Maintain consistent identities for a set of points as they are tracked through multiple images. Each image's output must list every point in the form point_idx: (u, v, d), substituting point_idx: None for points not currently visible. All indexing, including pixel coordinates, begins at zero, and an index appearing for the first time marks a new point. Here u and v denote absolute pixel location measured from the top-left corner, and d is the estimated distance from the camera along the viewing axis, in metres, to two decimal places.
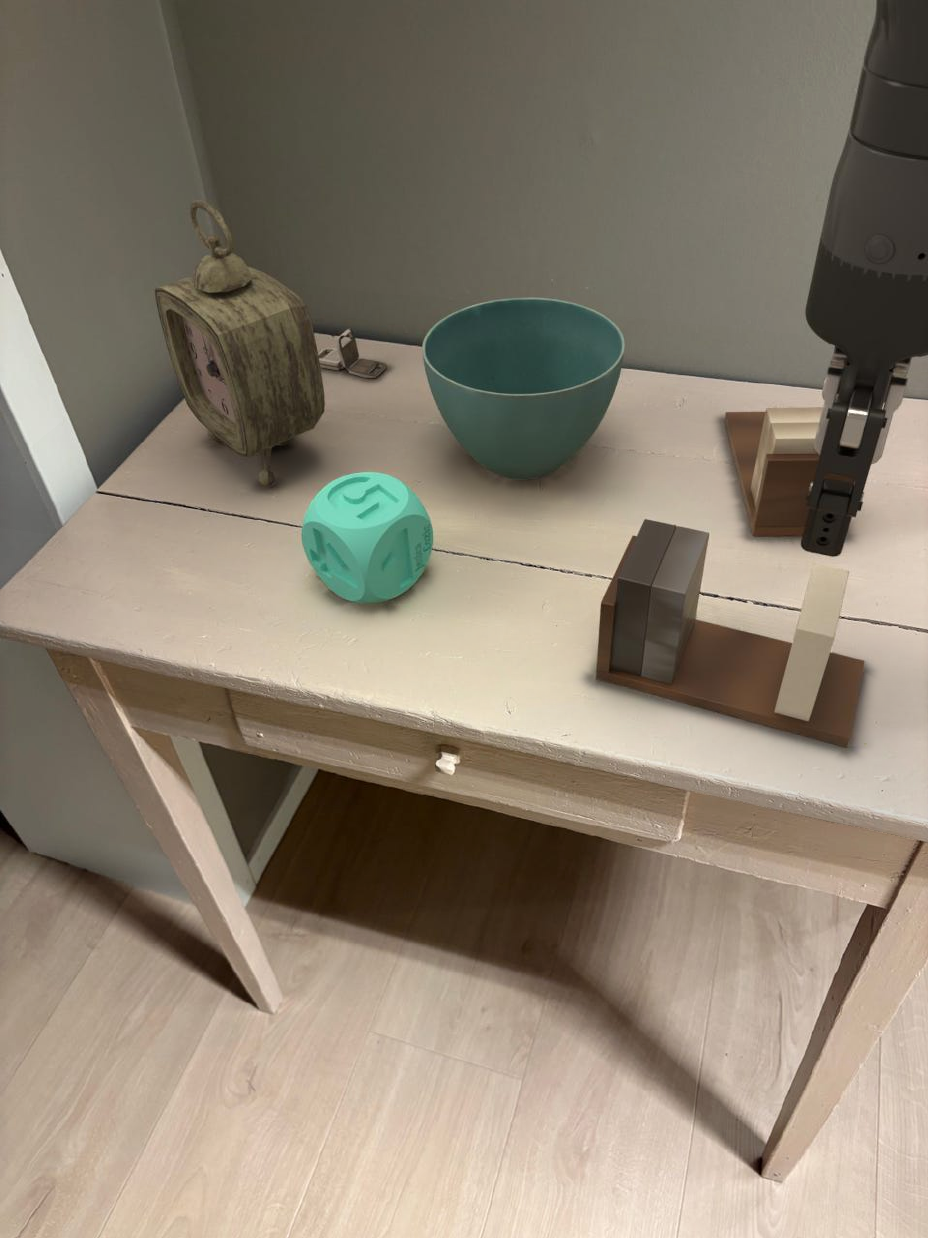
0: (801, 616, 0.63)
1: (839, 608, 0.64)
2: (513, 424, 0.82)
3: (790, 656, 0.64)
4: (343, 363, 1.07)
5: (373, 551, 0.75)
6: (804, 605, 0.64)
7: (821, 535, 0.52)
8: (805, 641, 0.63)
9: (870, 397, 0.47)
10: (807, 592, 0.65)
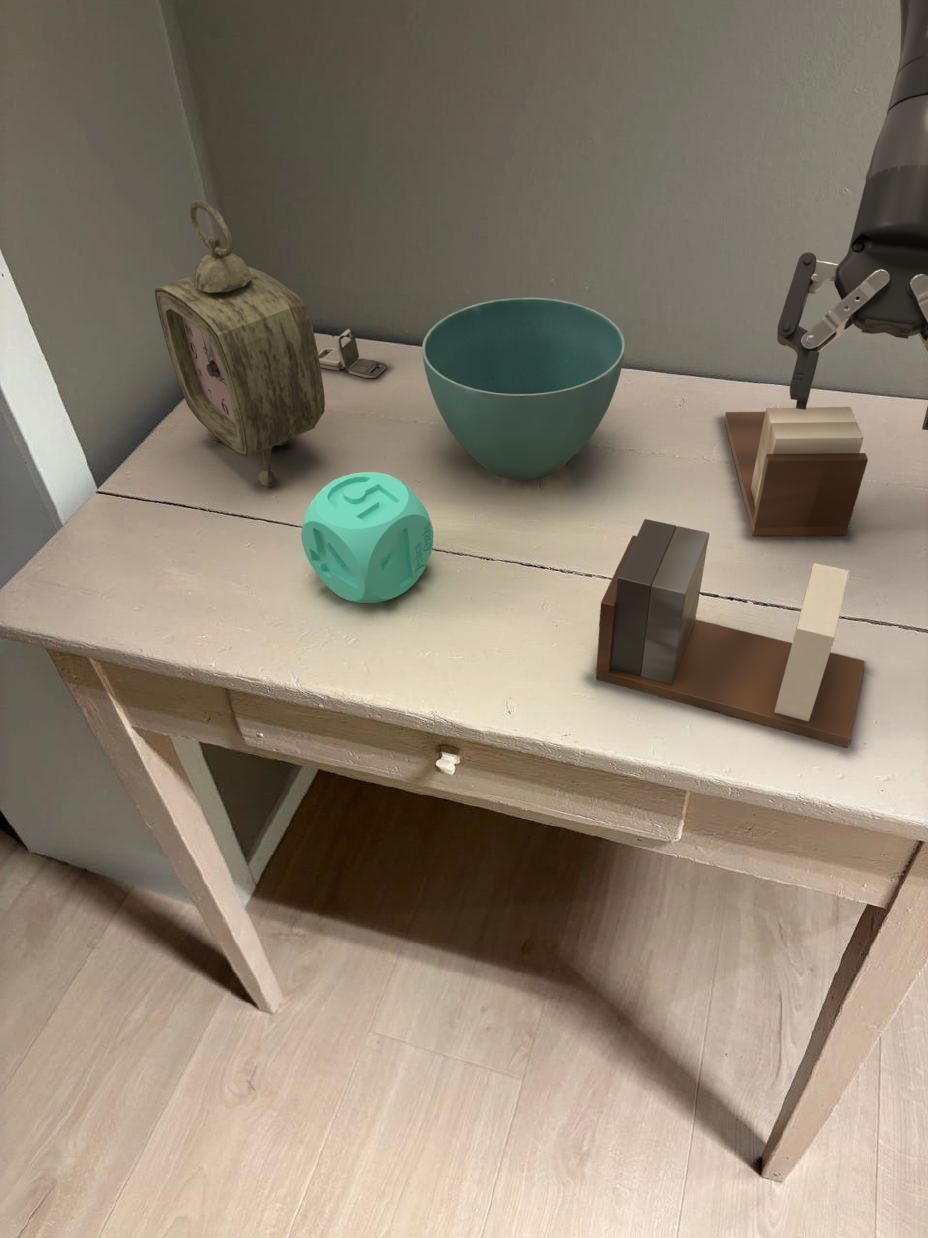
0: (801, 616, 0.63)
1: (839, 608, 0.64)
2: (513, 424, 0.82)
3: (790, 656, 0.64)
4: (343, 363, 1.07)
5: (373, 551, 0.75)
6: (804, 605, 0.64)
7: None
8: (805, 641, 0.63)
9: None
10: (807, 592, 0.65)
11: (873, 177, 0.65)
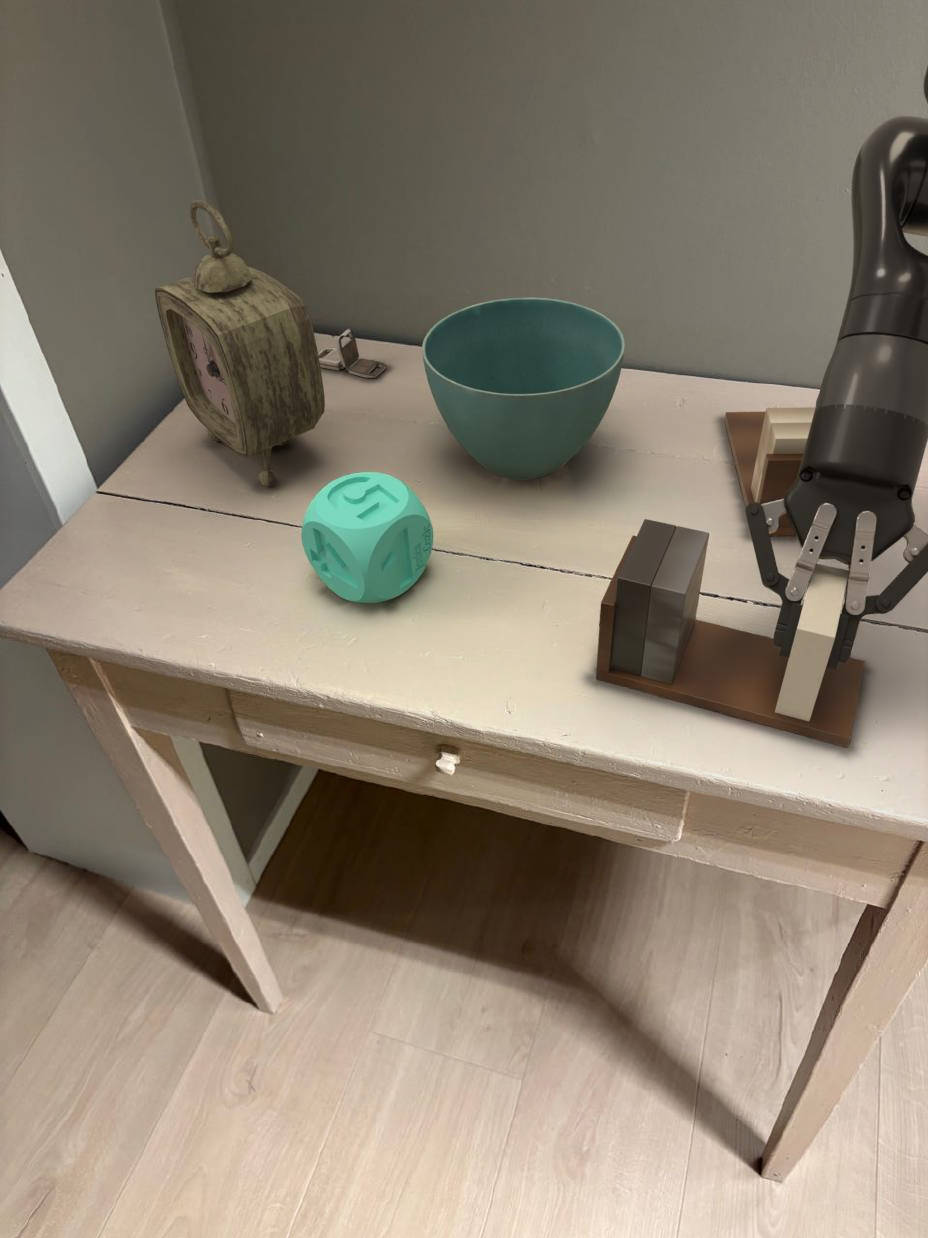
0: (801, 616, 0.63)
1: (839, 608, 0.64)
2: (513, 424, 0.82)
3: (790, 656, 0.64)
4: (343, 363, 1.07)
5: (373, 551, 0.75)
6: (804, 605, 0.64)
7: None
8: (806, 642, 0.63)
9: (774, 501, 0.67)
10: (807, 592, 0.65)
11: (821, 409, 0.65)
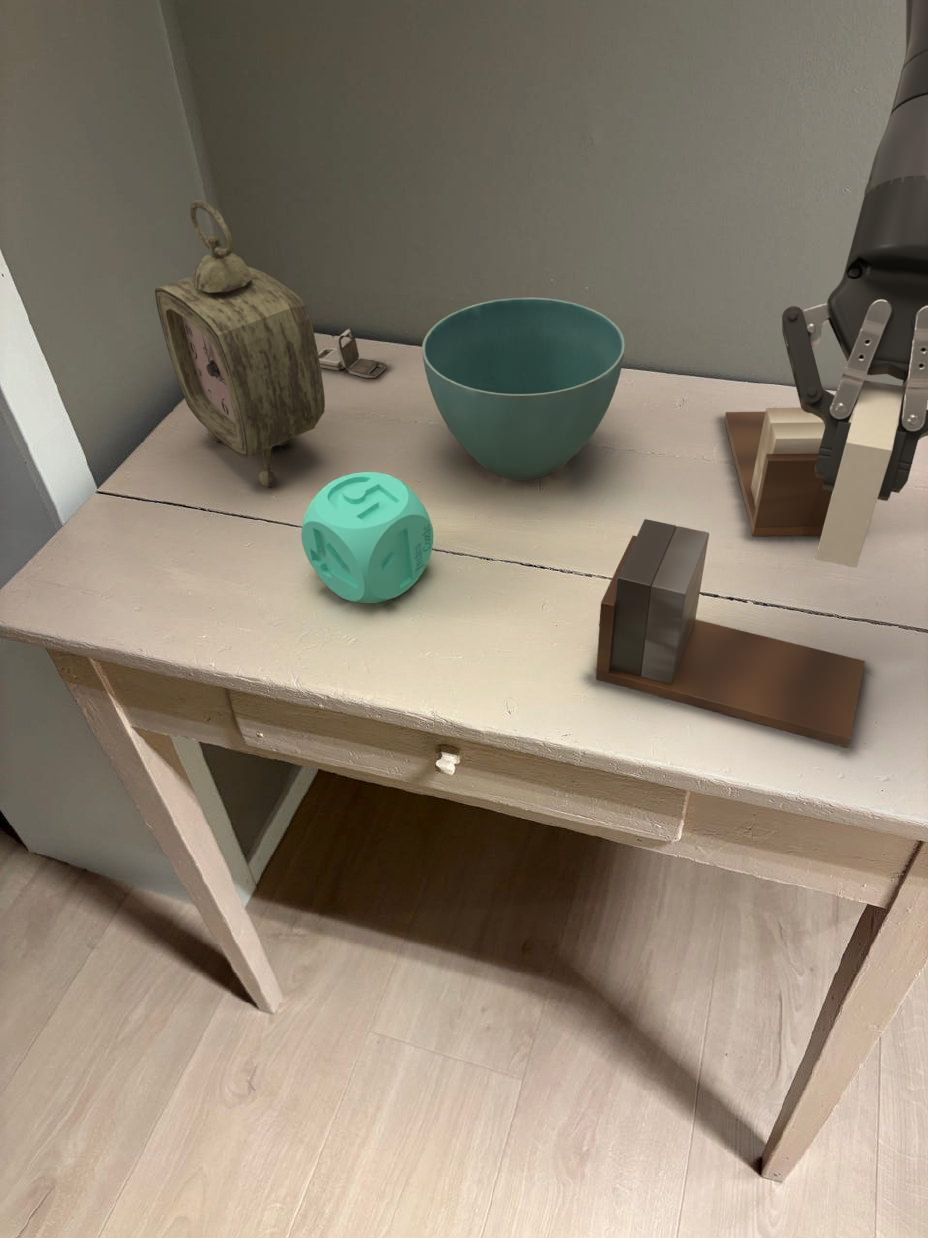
0: (851, 430, 0.54)
1: (895, 422, 0.54)
2: (513, 424, 0.82)
3: (837, 481, 0.55)
4: (343, 363, 1.07)
5: (373, 550, 0.75)
6: (854, 420, 0.54)
7: None
8: (856, 459, 0.53)
9: (816, 306, 0.57)
10: (856, 407, 0.55)
11: (873, 190, 0.55)
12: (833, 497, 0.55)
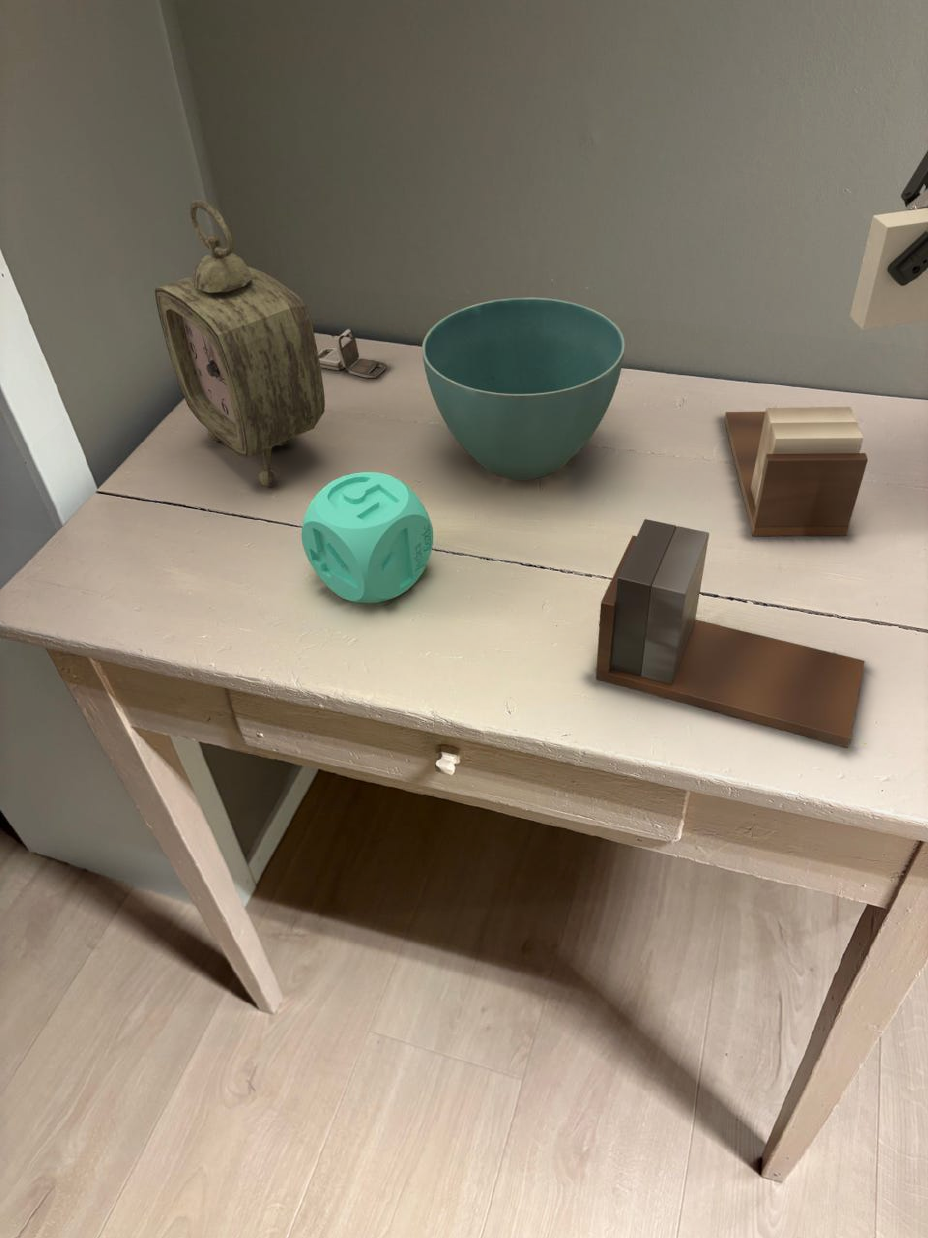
0: (888, 213, 0.74)
1: (922, 221, 0.73)
2: (513, 424, 0.82)
3: None
4: (343, 363, 1.07)
5: (373, 550, 0.75)
6: (902, 211, 0.75)
7: None
8: (874, 231, 0.75)
9: None
10: (919, 209, 0.75)
11: None
12: (862, 262, 0.77)
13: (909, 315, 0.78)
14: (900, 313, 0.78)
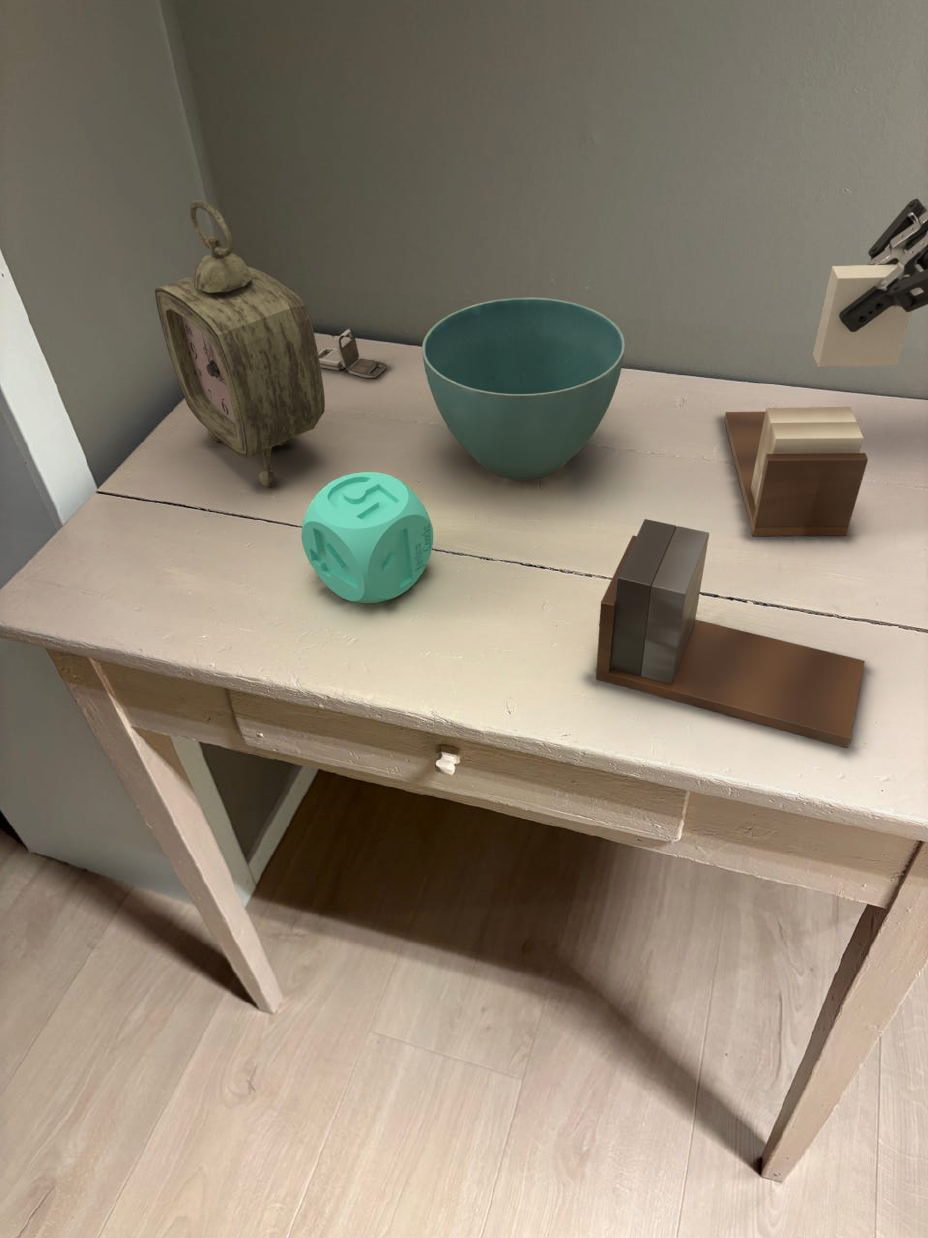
0: None
1: (872, 276, 0.82)
2: (513, 424, 0.82)
3: None
4: (343, 363, 1.07)
5: (373, 551, 0.75)
6: None
7: None
8: (831, 280, 0.84)
9: None
10: (876, 265, 0.83)
11: None
12: (823, 306, 0.86)
13: (863, 359, 0.87)
14: (854, 356, 0.87)
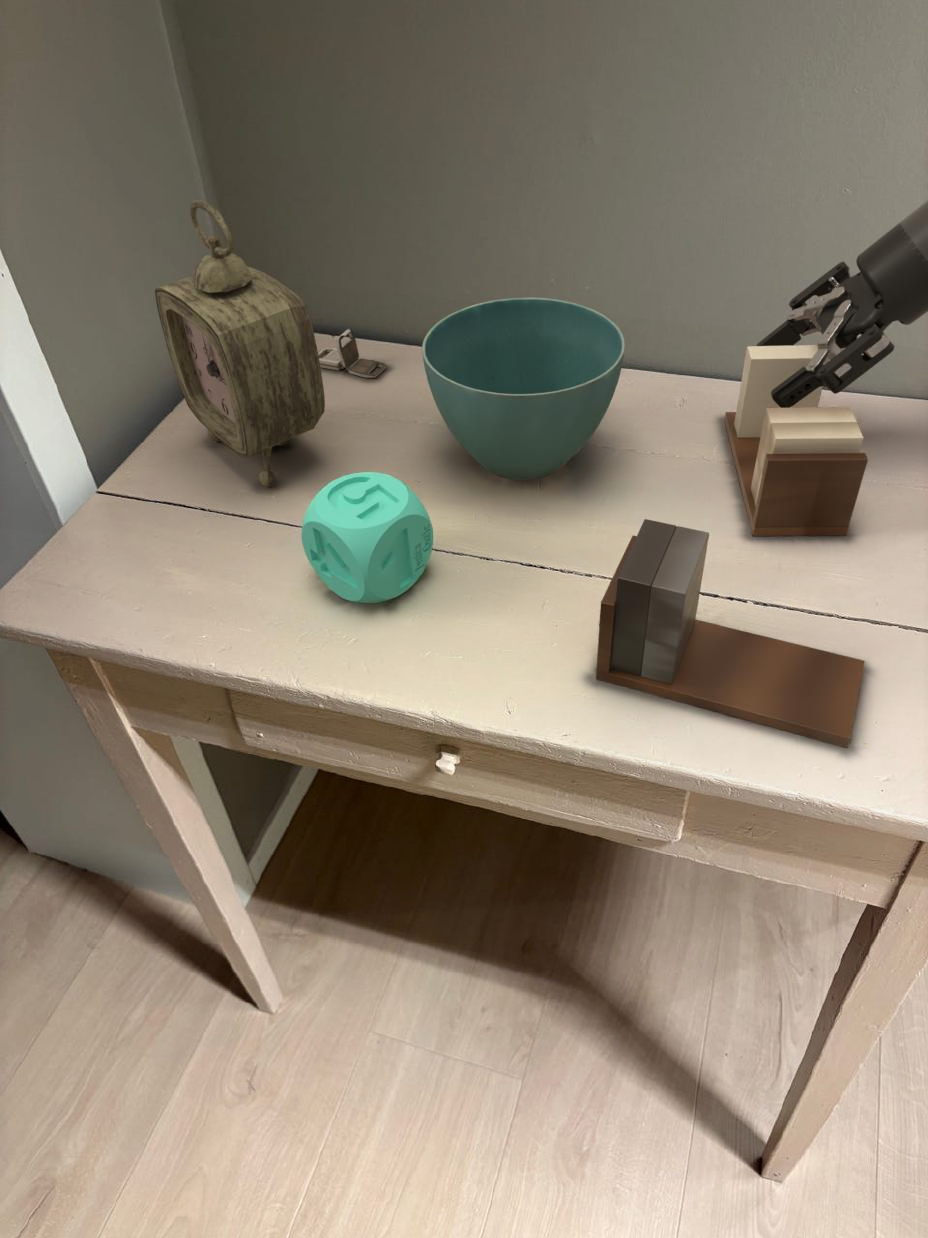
0: (760, 346, 0.89)
1: (782, 357, 0.87)
2: (513, 424, 0.82)
3: None
4: (343, 363, 1.07)
5: (373, 551, 0.75)
6: (773, 346, 0.89)
7: None
8: (746, 359, 0.89)
9: (851, 277, 0.88)
10: None
11: None
12: (741, 382, 0.92)
13: None
14: None
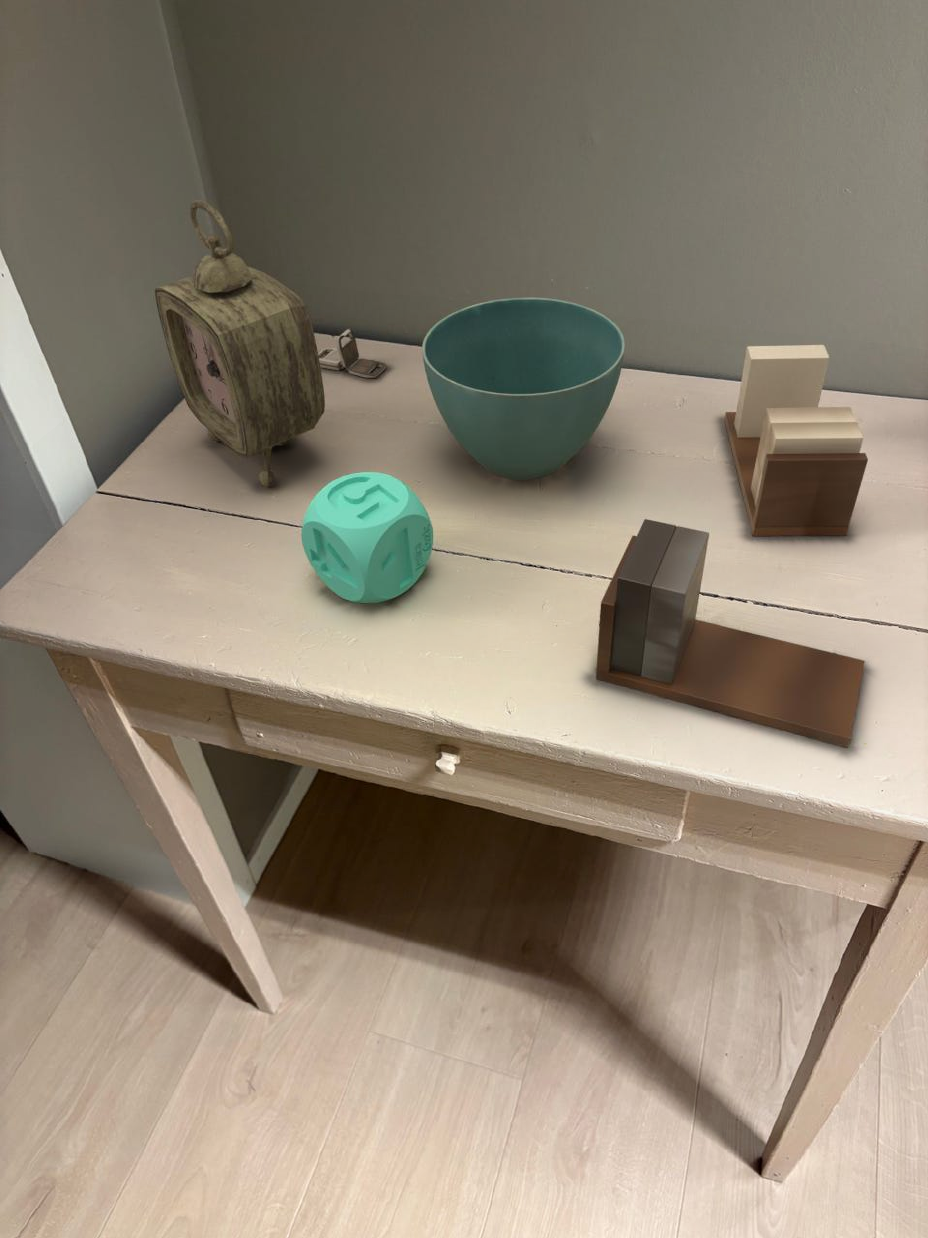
0: (760, 346, 0.89)
1: (782, 357, 0.87)
2: (513, 424, 0.82)
3: None
4: (343, 363, 1.07)
5: (373, 550, 0.75)
6: (773, 346, 0.89)
7: None
8: (746, 359, 0.89)
9: None
10: None
11: None
12: (741, 382, 0.92)
13: None
14: None
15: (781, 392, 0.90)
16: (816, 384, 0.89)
